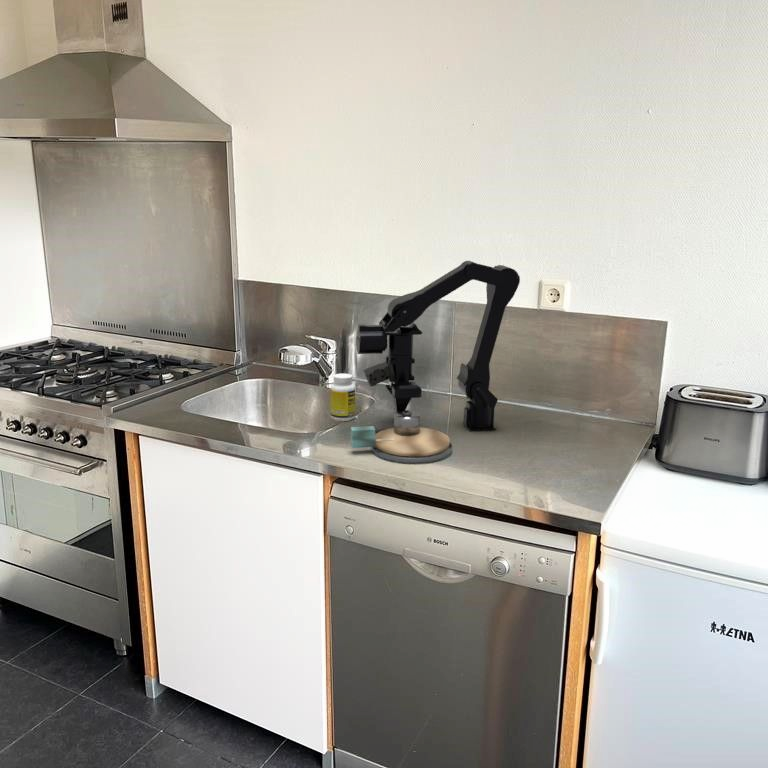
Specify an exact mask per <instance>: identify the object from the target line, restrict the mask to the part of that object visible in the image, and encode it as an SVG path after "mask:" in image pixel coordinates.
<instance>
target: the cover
mask: <svg viewBox="0 0 768 768" xmlns="http://www.w3.org/2000/svg"><path fill="white" fill-rule="evenodd" d="M420 427H421V414H420V413H419V412H416V411H411V410H407V409H406V410H405V411H401V412H397V413H396V412H395V413H394V414H393V428H394V433H395V434H397V435H401V436H414V435H417V434H419V433H420Z"/></svg>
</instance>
